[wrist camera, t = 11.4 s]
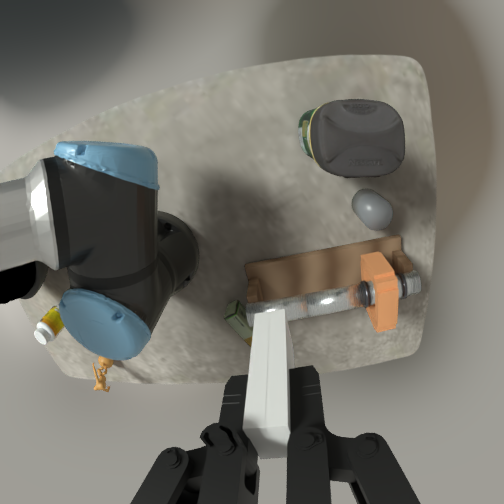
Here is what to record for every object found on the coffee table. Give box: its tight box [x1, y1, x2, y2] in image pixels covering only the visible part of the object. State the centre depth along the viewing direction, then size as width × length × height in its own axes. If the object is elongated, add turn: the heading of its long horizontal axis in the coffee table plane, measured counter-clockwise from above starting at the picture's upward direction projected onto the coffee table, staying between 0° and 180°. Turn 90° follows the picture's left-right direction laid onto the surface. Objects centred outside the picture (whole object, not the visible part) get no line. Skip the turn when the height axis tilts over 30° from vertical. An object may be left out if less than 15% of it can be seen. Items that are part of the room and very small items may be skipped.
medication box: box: [224, 300, 253, 347], centre depth 53 cm, size 12×3×4 cm, turn 35°
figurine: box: [93, 356, 113, 392], centre depth 58 cm, size 8×6×12 cm
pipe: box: [246, 270, 421, 327], centre depth 41 cm, size 27×4×4 cm, turn 104°
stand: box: [245, 234, 413, 303], centre depth 46 cm, size 27×9×7 cm, turn 104°
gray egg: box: [352, 189, 393, 231], centre depth 41 cm, size 5×5×6 cm
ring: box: [360, 252, 399, 332], centre depth 40 cm, size 3×10×10 cm, turn 14°
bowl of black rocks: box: [0, 260, 48, 304], centre depth 42 cm, size 20×20×19 cm
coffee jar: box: [299, 99, 405, 178], centre depth 31 cm, size 10×8×19 cm
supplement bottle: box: [34, 305, 65, 345], centre depth 54 cm, size 6×6×10 cm
